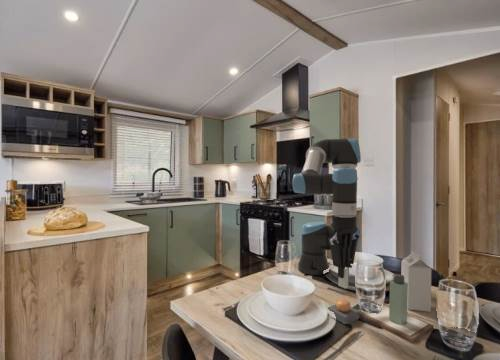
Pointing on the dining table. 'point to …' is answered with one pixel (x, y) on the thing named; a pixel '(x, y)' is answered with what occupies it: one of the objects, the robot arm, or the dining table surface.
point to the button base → (345, 314)
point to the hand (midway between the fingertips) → (343, 286)
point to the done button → (342, 305)
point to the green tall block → (398, 299)
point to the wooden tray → (406, 331)
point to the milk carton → (417, 282)
